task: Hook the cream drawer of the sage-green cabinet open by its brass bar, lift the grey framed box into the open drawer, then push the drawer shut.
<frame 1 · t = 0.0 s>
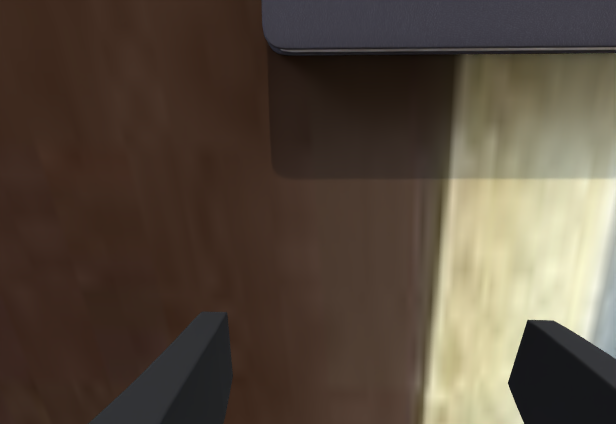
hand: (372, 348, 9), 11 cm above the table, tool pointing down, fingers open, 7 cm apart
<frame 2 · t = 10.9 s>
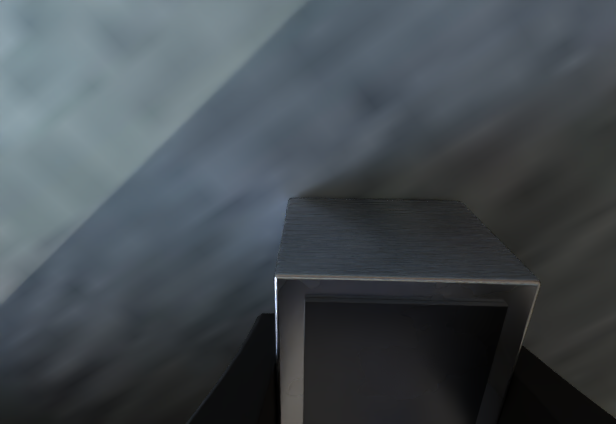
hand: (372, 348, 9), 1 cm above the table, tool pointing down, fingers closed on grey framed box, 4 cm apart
grey framed box: (364, 311, 10), on the table, touching gripper
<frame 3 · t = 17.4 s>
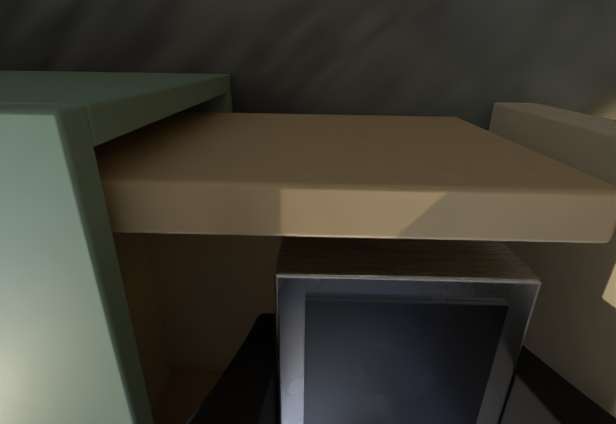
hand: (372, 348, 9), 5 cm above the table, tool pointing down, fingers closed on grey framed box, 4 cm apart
grey framed box: (364, 311, 10), point 3 cm above the table, touching gripper
drawer: (403, 326, 10), point 4 cm above the table, slide at 7.7 cm
cabinet: (65, 244, 13), on the table
when the fingers open (5 cm above the table, at t = 22.7 s): grey framed box drops 2 cm, resting on drawer.
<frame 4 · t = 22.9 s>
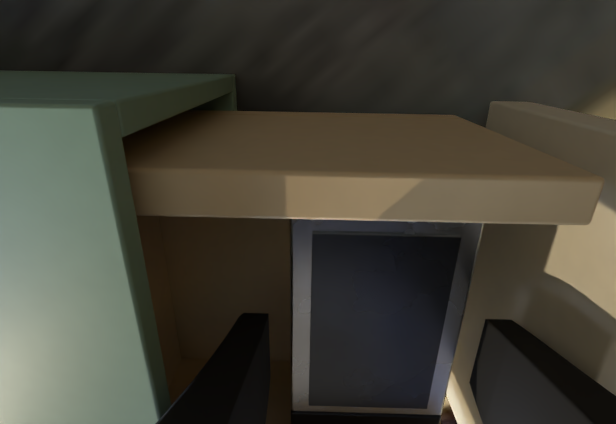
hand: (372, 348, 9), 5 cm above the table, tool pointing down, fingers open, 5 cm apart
grey framed box: (359, 266, 12), point 2 cm above the table, touching drawer
drawer: (404, 312, 10), point 4 cm above the table, slide at 7.8 cm, touching grey framed box, gripper
cabinet: (76, 237, 14), on the table
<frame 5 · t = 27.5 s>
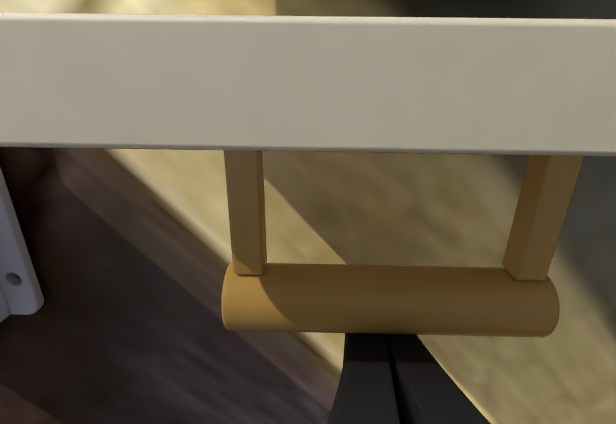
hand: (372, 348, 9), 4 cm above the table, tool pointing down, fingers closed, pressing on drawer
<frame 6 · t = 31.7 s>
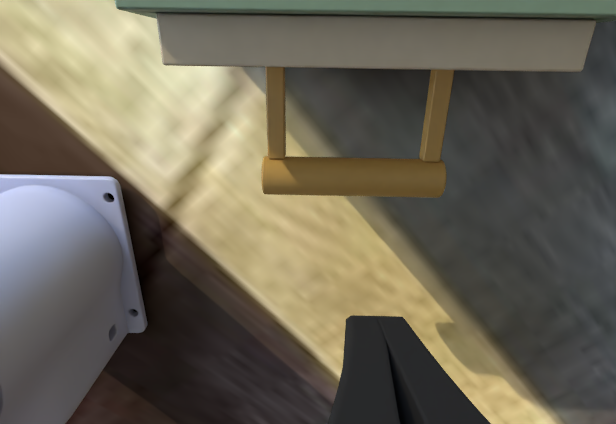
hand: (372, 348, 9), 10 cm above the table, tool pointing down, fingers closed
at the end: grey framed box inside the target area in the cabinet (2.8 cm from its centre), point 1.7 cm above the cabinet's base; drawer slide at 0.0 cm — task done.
